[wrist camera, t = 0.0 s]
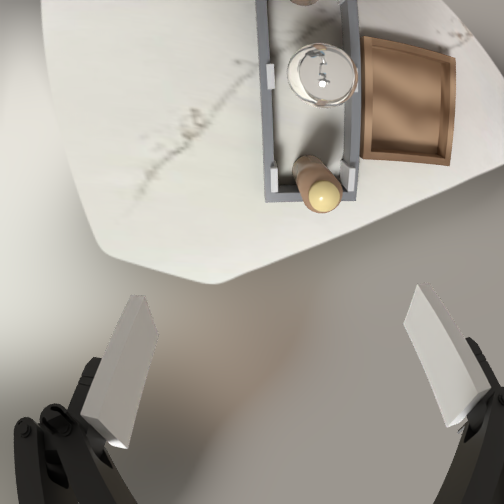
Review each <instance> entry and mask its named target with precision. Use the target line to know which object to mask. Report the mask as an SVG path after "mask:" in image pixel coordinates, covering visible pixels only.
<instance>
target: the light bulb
mask: <svg viewBox="0 0 504 504" xmlns="http://www.w3.org/2000/svg"><path fill="white" fill-rule="evenodd" d="M287 79H288V83H289V85H290V87H291V90H292V91H293V92H294V94H295V95H296V96H297V97H298V98H299V99H300V100H301V101H303V102H304V103H306V104H308V105H310V106H313V107H317V108H333V107H337V106H340V105H342V104H343V103H345V102H346V101H347V100H349V99H350V98H351V96H352V95H353V93H354V92H355V89H356V87H357V83H358V73H357V68H356V66H355V64H354V62H353V60H352V59H351V57H350V56H349V55H348V54H347V53H346V52H344V51H343V50H342V49H340V48H339V47H336V46H334V45H331V44H328V43H312V44H309V45H306V46H304V47H302V48H300V49H299V50H298V51H297V52H295V53H294V55H293V56H292V57H291V59H290V61H289V64H288V68H287Z"/></svg>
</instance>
